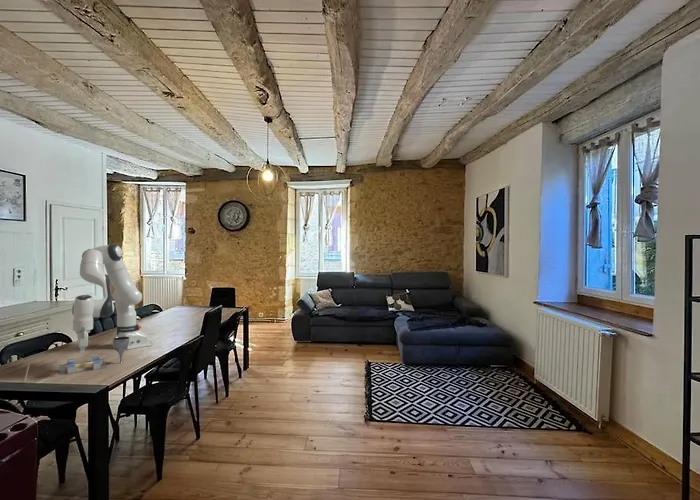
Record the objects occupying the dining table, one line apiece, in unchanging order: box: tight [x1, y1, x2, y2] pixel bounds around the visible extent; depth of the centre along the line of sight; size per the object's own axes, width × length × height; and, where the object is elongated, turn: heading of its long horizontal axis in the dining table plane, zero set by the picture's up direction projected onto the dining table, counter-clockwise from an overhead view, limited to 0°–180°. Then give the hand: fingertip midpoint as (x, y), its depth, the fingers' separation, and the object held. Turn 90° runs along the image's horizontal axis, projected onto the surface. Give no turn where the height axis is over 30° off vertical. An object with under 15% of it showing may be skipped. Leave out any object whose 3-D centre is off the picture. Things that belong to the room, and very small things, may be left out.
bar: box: [65, 360, 102, 373], centre depth 198 cm, size 16×3×3 cm, turn 128°
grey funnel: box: [112, 336, 129, 364], centre depth 210 cm, size 8×8×15 cm
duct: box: [59, 353, 108, 377], centre depth 203 cm, size 20×21×5 cm
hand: (82, 352), depth 198 cm, fingers closed
